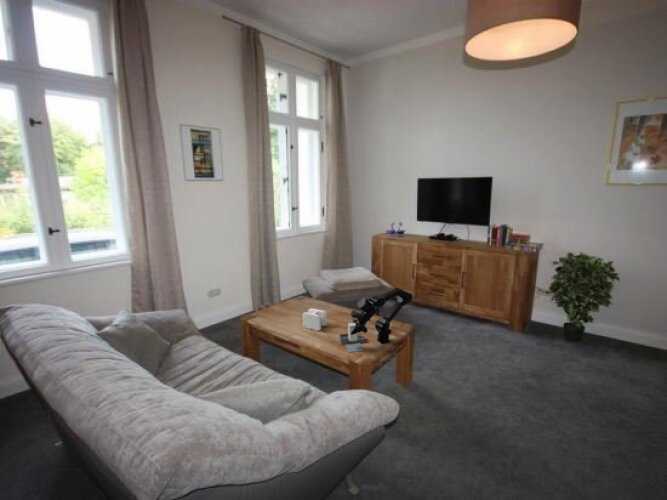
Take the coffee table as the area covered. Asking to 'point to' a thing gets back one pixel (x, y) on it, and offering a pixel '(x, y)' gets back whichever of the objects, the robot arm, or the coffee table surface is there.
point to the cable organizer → (314, 319)
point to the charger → (350, 329)
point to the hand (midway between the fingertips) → (350, 332)
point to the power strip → (344, 340)
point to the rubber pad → (354, 347)
